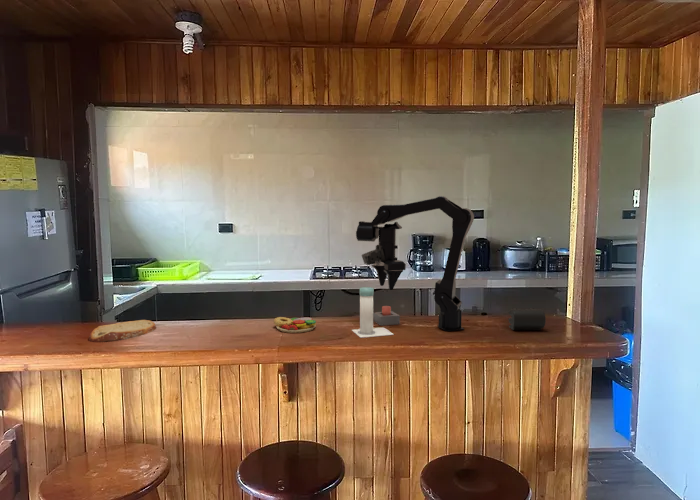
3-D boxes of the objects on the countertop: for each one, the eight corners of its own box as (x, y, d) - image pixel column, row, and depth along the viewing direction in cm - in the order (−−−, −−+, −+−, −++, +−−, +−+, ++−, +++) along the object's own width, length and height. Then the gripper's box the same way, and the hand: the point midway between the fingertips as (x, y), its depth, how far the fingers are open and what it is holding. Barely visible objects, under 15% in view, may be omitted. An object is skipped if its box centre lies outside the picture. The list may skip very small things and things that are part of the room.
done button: (388, 316, 172) (388, 305, 172) (392, 318, 169) (392, 307, 169) (380, 317, 171) (380, 306, 171) (383, 319, 168) (383, 307, 168)
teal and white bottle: (370, 329, 160) (370, 286, 158) (375, 333, 155) (375, 289, 154) (357, 330, 158) (357, 287, 157) (362, 334, 154) (362, 290, 153)
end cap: (514, 332, 158) (514, 311, 157) (507, 326, 165) (507, 306, 164) (545, 332, 158) (546, 311, 157) (537, 326, 165) (537, 306, 164)
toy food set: (270, 326, 166) (270, 317, 166) (307, 322, 172) (307, 313, 172) (284, 336, 155) (284, 326, 154) (322, 331, 161) (322, 321, 160)
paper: (383, 327, 163) (383, 326, 163) (393, 334, 155) (393, 333, 155) (351, 330, 160) (351, 329, 160) (360, 337, 152) (360, 336, 152)
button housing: (392, 319, 175) (392, 311, 175) (399, 324, 168) (399, 315, 168) (373, 320, 173) (373, 312, 173) (380, 325, 166) (380, 316, 166)
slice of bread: (158, 325, 168) (157, 315, 168) (150, 340, 151) (149, 328, 150) (100, 329, 164) (99, 318, 163) (85, 344, 146) (84, 332, 146)
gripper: (355, 240, 174) (355, 284, 175) (374, 245, 156) (373, 294, 158) (385, 239, 177) (384, 282, 179) (406, 244, 160) (405, 292, 161)
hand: (386, 287), depth 169 cm, fingers open, 8 cm apart
